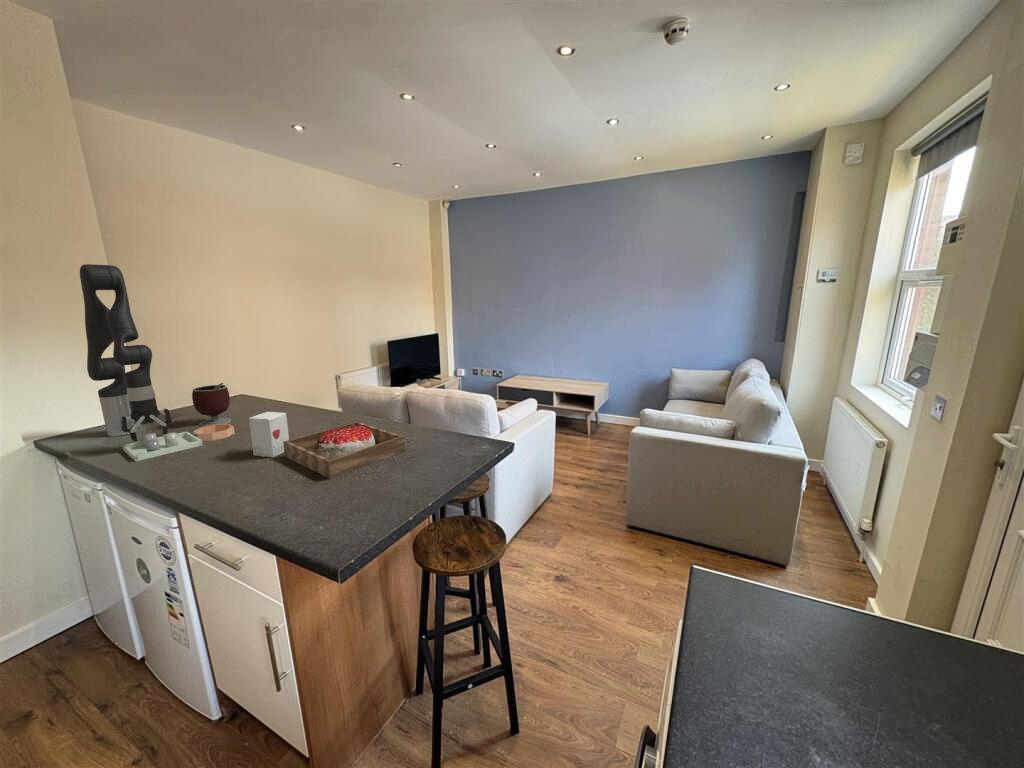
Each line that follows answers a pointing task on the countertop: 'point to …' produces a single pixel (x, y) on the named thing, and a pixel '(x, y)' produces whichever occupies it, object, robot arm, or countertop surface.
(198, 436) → the bowl
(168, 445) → the pebble
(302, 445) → the wooden tray
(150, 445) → the grey rounded knob
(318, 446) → the cake
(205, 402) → the mate gourd
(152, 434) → the pebble
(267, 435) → the supplement box
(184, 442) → the tray
